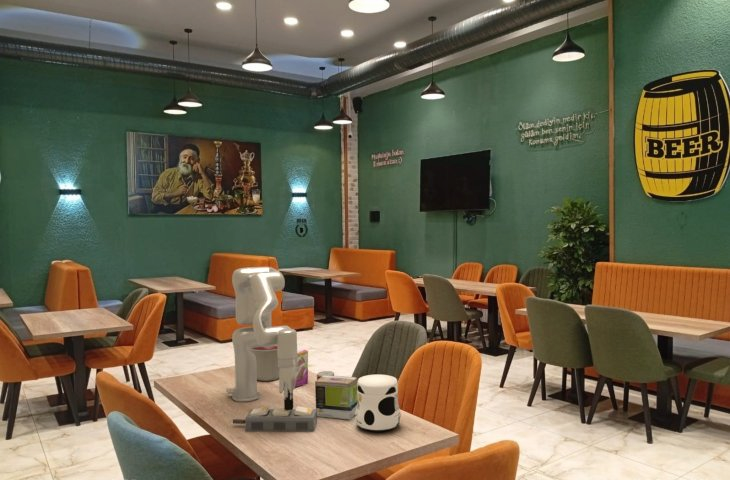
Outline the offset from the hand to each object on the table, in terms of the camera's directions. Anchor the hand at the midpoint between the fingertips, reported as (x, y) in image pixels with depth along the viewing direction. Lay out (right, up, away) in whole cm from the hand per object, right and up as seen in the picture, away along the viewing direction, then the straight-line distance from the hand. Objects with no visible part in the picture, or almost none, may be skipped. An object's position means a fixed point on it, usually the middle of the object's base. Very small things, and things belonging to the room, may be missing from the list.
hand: (288, 409), depth 207 cm
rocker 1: (-11, -1, +1) cm, 11 cm away
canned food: (+12, -6, +35) cm, 37 cm away
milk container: (+34, -7, 0) cm, 35 cm away
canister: (-20, -5, +66) cm, 69 cm away
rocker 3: (+6, -1, 0) cm, 6 cm away
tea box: (+18, -7, +13) cm, 23 cm away
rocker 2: (-3, -1, 0) cm, 3 cm away
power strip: (-6, -7, +1) cm, 9 cm away
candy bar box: (-3, -6, +53) cm, 54 cm away
